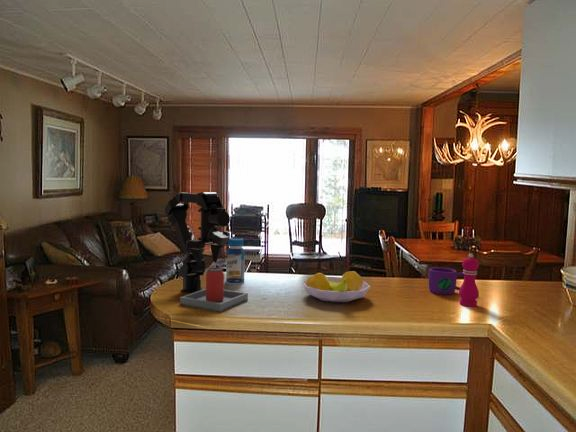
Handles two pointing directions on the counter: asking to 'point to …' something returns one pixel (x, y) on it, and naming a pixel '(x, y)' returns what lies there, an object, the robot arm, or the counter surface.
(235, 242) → the beverage bottle
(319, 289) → the fruit bowl
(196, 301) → the tray
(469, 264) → the pepper mill
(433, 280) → the mug
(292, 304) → the counter surface
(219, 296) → the beer can
